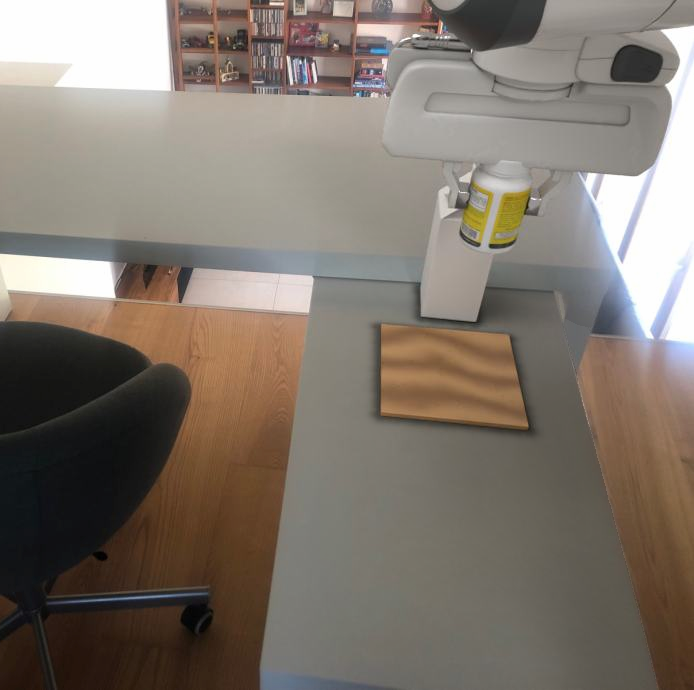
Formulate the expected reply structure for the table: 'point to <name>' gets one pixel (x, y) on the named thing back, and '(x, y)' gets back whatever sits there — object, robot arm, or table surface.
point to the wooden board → (450, 377)
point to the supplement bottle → (495, 206)
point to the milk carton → (452, 267)
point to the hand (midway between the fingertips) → (494, 209)
